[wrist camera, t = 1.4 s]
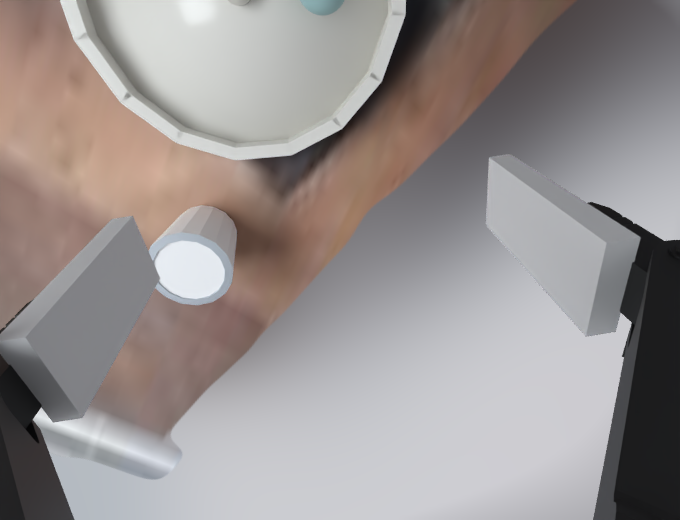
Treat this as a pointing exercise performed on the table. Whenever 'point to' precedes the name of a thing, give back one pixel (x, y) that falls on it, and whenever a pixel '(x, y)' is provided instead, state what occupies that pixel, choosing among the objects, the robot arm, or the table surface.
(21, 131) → the table surface
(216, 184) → the table surface
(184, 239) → the shot glass
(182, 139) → the ring tray
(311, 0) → the bead teal
